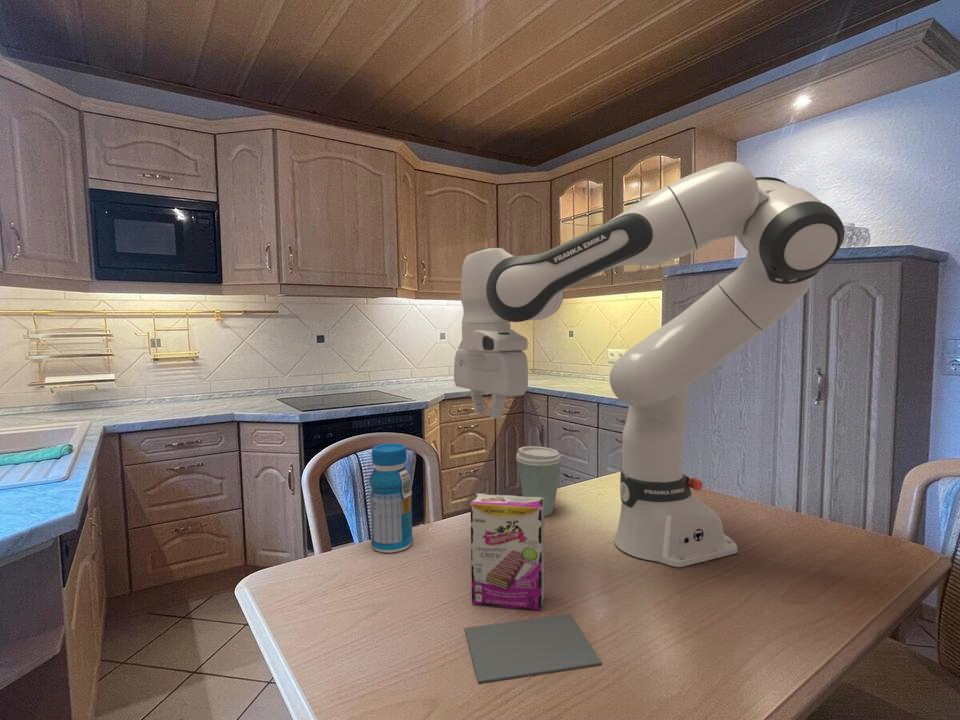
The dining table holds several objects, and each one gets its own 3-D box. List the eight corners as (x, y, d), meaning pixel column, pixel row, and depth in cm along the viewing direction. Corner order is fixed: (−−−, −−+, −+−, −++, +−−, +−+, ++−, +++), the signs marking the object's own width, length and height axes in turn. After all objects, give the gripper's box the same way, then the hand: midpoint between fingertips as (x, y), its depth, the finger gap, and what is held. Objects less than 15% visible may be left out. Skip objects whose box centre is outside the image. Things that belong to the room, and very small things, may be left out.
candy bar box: (470, 606, 77) (468, 502, 76) (477, 589, 81) (475, 492, 80) (543, 613, 74) (541, 506, 73) (545, 595, 79) (544, 495, 78)
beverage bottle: (377, 558, 93) (373, 454, 92) (366, 541, 101) (362, 445, 100) (419, 548, 97) (416, 448, 96) (405, 533, 105) (402, 440, 104)
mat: (570, 615, 73) (570, 613, 73) (602, 664, 63) (602, 662, 63) (464, 629, 71) (464, 627, 70) (478, 683, 60) (478, 681, 60)
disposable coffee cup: (550, 501, 122) (549, 442, 121) (571, 517, 112) (570, 451, 111) (510, 507, 119) (508, 446, 118) (528, 524, 108) (527, 456, 107)
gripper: (445, 340, 96) (446, 410, 97) (502, 341, 79) (504, 426, 80) (472, 339, 100) (474, 407, 100) (534, 339, 82) (535, 422, 83)
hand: (488, 415), depth 90 cm, fingers open, 4 cm apart
